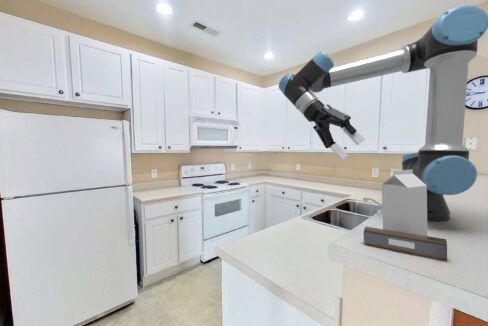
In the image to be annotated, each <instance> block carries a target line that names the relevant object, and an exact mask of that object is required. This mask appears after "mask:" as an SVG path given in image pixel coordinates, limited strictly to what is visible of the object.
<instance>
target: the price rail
mask: <svg viewBox="0 0 488 326" xmlns="http://www.w3.org/2000/svg"><path fill="white" fill-rule="evenodd" d="M363 243H365V244H364V245H367V244H369V245H368V246H372V245H373V246H372V247H377V248H378V247H379V248H383V249H386V250H387V249H388V250H392V251H398V252H400V253H407V254H412V255H417V256H422V257H425V258H427V257H428V258H432V259H437V260H442V261H444V262H445V261H446V262H447V261H448V241H447V239H446V238H441V237H434V236H430V235H429V236H428V235H427V236H423V235H417V234H410V233H404V232H398V231H391V230H385V229H383V228H378V227H372V226H365V227H364V228H363Z"/></svg>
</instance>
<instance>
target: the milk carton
mask: <svg viewBox="0 0 488 326" xmlns="http://www.w3.org/2000/svg"><path fill="white" fill-rule="evenodd" d="M392 171H393V174H392V175H391V176H390V178H388V179H387V180H385V182H383V183H382V184H381V200H382V201H381V202H382V204H381V206H382V229H385V230H391V231H398V232H404V233H410V234H417V235H423V236H428V220H427V185H426V184H424V183H423V182H422V181H421V180H420V179H419V178H417V177H416V176H415V175H414V174H413V170H401V169H400V170H392Z"/></svg>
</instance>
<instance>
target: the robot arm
mask: <svg viewBox="0 0 488 326" xmlns="http://www.w3.org/2000/svg"><path fill="white" fill-rule="evenodd" d="M487 30H488V12H486V11H485V10H484V9H483V8H480V7H478V6H477V5H474V4H462V5H458V6H454V7H452V8H450V9H448V10H446V11H445V12H444V13H442V14H441V15H440V16H439V17H438V18H437V19H435V21H434V22H433V24H432V25H431V27H429V29H428V30H427V31H426V33H425V34H423V36H422V37H421V38H420V39H418V40H416V41H414V42H412V43H409V44H406V45H402V47H401V48H400V49H398V50H392V51H389V52H386V53H383V54H378V55H374V56H371V57H367V58H366V57H365V58H363V59H359V60H355V61H351V62H347V63H343V64H339V65H336V66H334V61H333V59H332V58H331V56H329V54H328V53H326V52H325V51H319V52H318V53H317V54H316V55H314V56H312V58H311V59H310V60H309V61H308V62H307V63H306V64H305V65H304V66H303V67H302V68H301V69H300V70H299V71H298V72H296V73H295V74H294V73H293V72H288V73H287V74H285V75H283V76H282V77H281V79H280V80H279V83H278V90H280V91H281V93H282V94H283V96H284V97H285V98H287V99H288V100H289V102H290V103H291V104H292V105H293V106H294V107H295V108H296V110H298V111H299V112H300V114H302V115H303V117H304V118H305V119H306V121H308V122H310V123H312V122H313V123H314V124H315V125H314V126H313V127H312V129H314V131H315V132H316V134H317V135H318V138H319V140H321V142H322V143H323V146H324V148H325V149H328V148H329V149H331V150H332V151H333V153H334V154H335V155H336V156H337V157H338V158H339V159H340V160H341V161H344V160H345V159H347V158H348V157H349V154H347V152H346V151H345V150H344V149H343V148H342V147H341V145H339V144H338V142H336V141H334V139H333V136H332V133H331V131H330V125H334V126H336V127H340V129H341V130H342V131H343V132H344V134H346V135H347V136H348V137H349V138H350V140H352V142H353V143H355V145H356V146H358V145H360V144H361V143H363V142H364V141H366V138H365V137H364V136H362V135H361V133H360V132H359V131H357V129H356V128H355V127H354V126H353V125H352V124H351V121H350V120H351V119H352V117H351V116H350V115H349V114H346V113H345V112H342V111H340V110H338V109H336V108H334V107H332V106H331V105H330V104H324V103H323V102H322V101H321V100H319V98H318V97H317V96H316V94H317V93H320V92H322V91H323V90H324V89H328V88H331V87H332V88H333V87H337V86H341V85H344V84H350V83H354V82H355V83H356V82H359V81H363V80H369V79H371V78H377V77H380V76H386V75H391V74H394V73H399V72H401V73H403V74H406V73H407V74H408V73H413V72H417V71H420V70H421V71H422V70H425V69H429V81H428V93H427V110H426V111H427V112H426V125H425V127H426V128H425V139H424V140H425V141H424V145H423V146H422V147H420V148H419V149H418V152H409V153H406V154H404V155H403V156H402V161H401V165H402V166H401V167H402V168H401V169H402V170H413V174H414V175H415V176H416V177H417V178H419V179H420V180H421V181H422V182H423V183H424V184H426V185H427V221H435V222H436V221H438V222H439V221H448V220H449V221H450V219H451V210H450V208H449V206H448V204H447V201H446V199H445V196H455V195H459V194H462V193H464V192H467V190H470V189H471V188H472V187H473V186H474V184H475V182H476V181H477V177H478V171H477V167H476V165H474V164H473V163H472V161H471V160H470V149H469V148H467V147H466V146H464V143H463V141H464V127H465V114H466V102H467V99H466V98H467V87H468V76H469V74H468V73H469V63H470V62H471V61H472V60H473V59H474V58H475V57H477V55H478V43H479V39H481V38H482V37H483V36H484V35H485V33H486V32H487ZM314 93H316V94H314Z"/></svg>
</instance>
